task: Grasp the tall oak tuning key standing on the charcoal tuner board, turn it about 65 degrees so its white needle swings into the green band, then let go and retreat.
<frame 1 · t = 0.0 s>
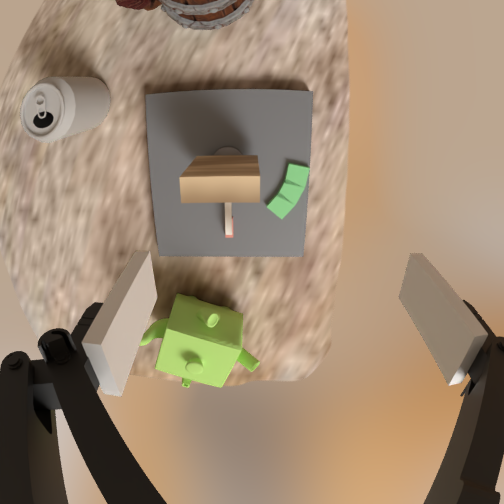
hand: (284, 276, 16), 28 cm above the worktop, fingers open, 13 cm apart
peg key: (225, 205, 35), point 8 cm above the worktop, hinge at 0.0°
kettle: (202, 314, 52), on the worktop
tuner board: (229, 173, 41), on the worktop
can: (89, 103, 36), on the worktop
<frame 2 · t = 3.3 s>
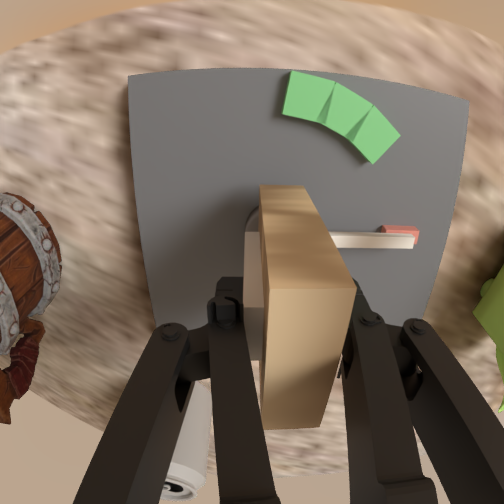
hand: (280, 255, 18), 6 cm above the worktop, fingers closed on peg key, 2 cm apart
peg key: (355, 280, 16), point 8 cm above the worktop, hinge at 0.0°, touching gripper
mug: (26, 261, 24), on the worktop
tuner board: (302, 218, 23), on the worktop
can: (178, 388, 31), on the worktop
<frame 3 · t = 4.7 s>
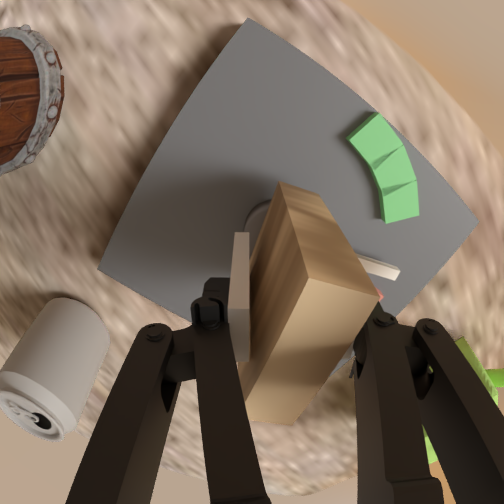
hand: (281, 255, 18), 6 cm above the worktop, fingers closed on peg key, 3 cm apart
peg key: (346, 294, 16), point 8 cm above the worktop, hinge at 16.6°, touching gripper
kettle: (420, 371, 32), on the worktop
mug: (13, 117, 19), on the worktop
tuner board: (295, 231, 23), on the worktop
can: (79, 322, 28), on the worktop
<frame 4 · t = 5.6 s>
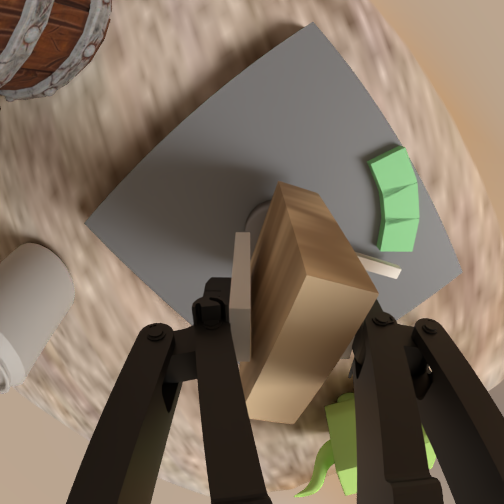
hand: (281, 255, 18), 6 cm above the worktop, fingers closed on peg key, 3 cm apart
peg key: (347, 292, 16), point 8 cm above the worktop, hinge at 33.5°, touching gripper
kettle: (368, 400, 33), on the worktop
mug: (43, 46, 17), on the worktop
tuner board: (290, 236, 24), on the worktop
can: (46, 274, 25), on the worktop
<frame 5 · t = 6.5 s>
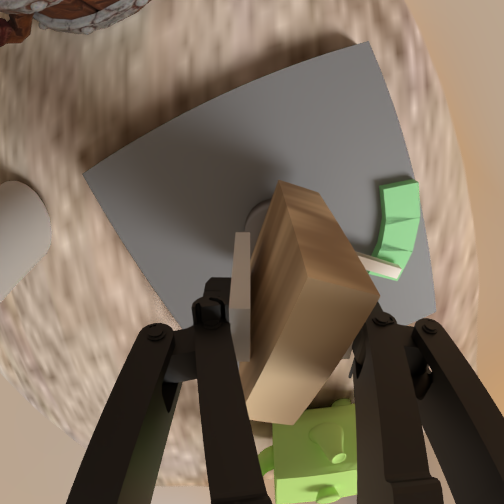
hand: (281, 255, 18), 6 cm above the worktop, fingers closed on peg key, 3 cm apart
peg key: (347, 293, 16), point 8 cm above the worktop, hinge at 48.4°, touching gripper
kettle: (313, 415, 35), on the worktop
tuner board: (284, 239, 24), on the worktop
can: (24, 218, 23), on the worktop
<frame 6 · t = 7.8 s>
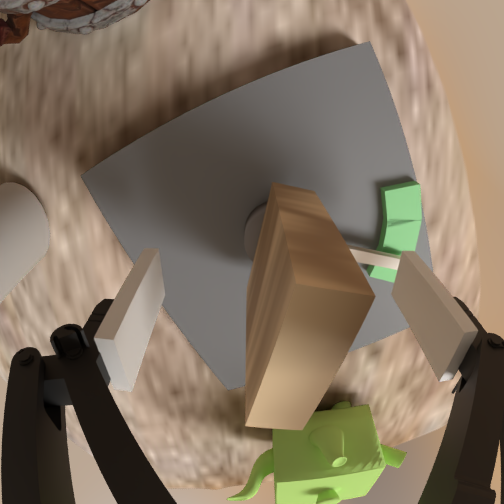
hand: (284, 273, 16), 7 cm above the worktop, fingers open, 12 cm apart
peg key: (351, 291, 16), point 8 cm above the worktop, hinge at 53.9°
kettle: (313, 418, 34), on the worktop
tuner board: (284, 241, 23), on the worktop
can: (23, 219, 23), on the worktop
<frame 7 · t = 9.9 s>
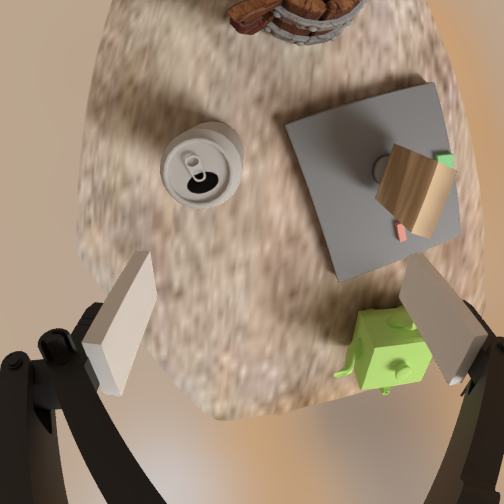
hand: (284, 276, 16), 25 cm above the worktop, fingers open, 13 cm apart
peg key: (432, 193, 31), point 8 cm above the worktop, hinge at 54.3°
kettle: (379, 322, 50), on the worktop
mug: (290, 11, 30), on the worktop
tuner board: (384, 180, 39), on the worktop
can: (212, 151, 38), on the worktop
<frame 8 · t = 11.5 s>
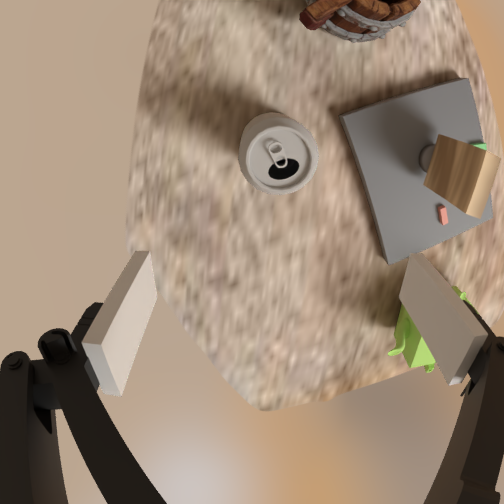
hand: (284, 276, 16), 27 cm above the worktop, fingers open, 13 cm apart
peg key: (474, 178, 32), point 8 cm above the worktop, hinge at 54.3°
kettle: (421, 303, 50), on the worktop
mug: (339, 9, 30), on the worktop
tuner board: (426, 168, 39), on the worktop
can: (271, 141, 38), on the worktop
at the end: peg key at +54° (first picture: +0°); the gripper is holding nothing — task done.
